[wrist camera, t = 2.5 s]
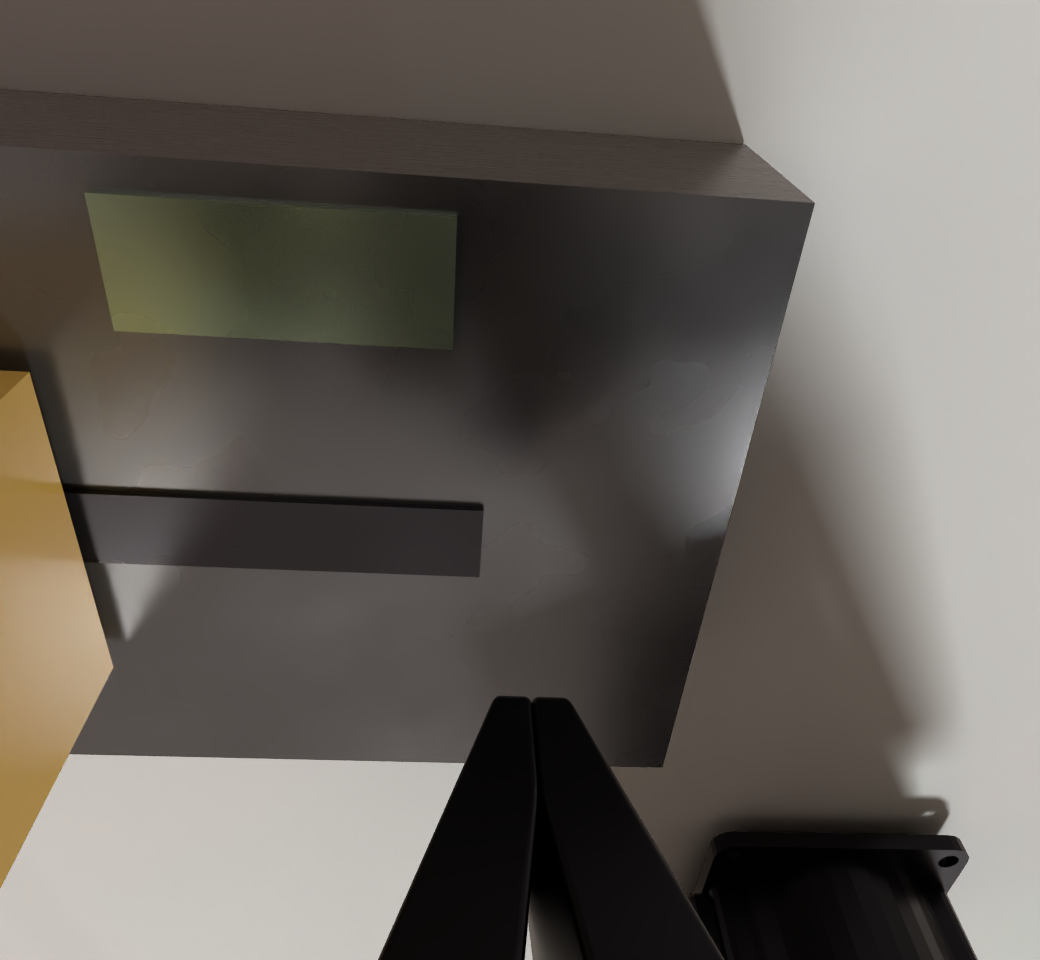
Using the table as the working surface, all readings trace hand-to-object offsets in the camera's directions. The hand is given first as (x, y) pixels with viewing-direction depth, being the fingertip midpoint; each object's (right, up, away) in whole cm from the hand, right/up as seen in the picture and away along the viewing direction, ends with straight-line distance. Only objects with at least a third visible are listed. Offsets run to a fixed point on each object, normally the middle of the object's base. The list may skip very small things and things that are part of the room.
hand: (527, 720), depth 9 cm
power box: (-8, +4, +5) cm, 10 cm away
